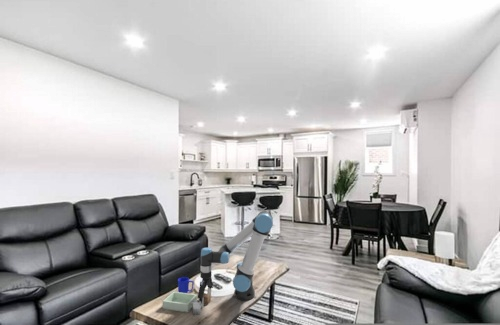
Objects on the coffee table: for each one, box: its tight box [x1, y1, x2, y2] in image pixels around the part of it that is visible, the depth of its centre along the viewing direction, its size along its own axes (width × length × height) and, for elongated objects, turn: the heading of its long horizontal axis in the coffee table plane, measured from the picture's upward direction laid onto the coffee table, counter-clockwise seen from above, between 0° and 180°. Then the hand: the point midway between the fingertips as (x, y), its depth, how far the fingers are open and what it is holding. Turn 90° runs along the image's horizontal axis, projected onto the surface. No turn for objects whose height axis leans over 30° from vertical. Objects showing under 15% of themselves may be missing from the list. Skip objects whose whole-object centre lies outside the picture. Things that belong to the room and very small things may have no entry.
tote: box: [162, 291, 198, 313], centre depth 176 cm, size 18×14×5 cm
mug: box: [177, 276, 194, 293], centre depth 194 cm, size 8×12×10 cm
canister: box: [192, 299, 202, 316], centre depth 166 cm, size 5×5×7 cm
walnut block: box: [203, 292, 212, 305], centre depth 180 cm, size 5×5×5 cm
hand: (205, 302), depth 180 cm, fingers open, 13 cm apart
